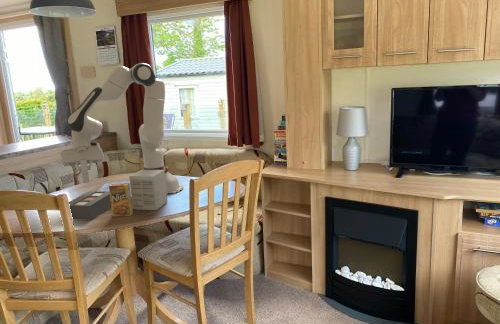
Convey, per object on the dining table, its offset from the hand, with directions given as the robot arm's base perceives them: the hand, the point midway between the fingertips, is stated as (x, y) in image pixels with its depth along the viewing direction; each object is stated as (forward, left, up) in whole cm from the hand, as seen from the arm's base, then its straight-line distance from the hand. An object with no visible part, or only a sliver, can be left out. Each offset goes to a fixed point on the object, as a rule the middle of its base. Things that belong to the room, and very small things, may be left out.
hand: (84, 170), depth 197 cm
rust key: (-6, +8, -16) cm, 19 cm away
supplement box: (-33, -2, -19) cm, 38 cm away
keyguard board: (-6, +8, -19) cm, 22 cm away
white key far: (-6, +15, -16) cm, 23 cm away
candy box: (-25, +12, -19) cm, 34 cm away
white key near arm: (-6, +1, -16) cm, 17 cm away
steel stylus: (0, -1, -7) cm, 7 cm away
